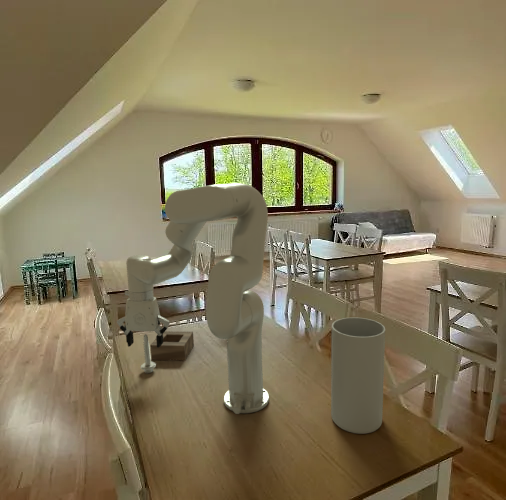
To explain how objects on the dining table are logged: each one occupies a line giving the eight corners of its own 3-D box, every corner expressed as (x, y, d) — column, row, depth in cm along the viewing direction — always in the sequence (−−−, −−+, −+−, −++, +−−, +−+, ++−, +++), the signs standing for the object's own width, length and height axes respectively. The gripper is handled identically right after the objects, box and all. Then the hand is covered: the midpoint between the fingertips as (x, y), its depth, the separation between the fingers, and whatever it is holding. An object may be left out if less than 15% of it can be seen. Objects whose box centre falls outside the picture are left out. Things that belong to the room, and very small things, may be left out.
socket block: (185, 360, 133) (184, 345, 132) (151, 359, 134) (150, 345, 133) (193, 345, 145) (193, 331, 144) (162, 345, 146) (161, 331, 145)
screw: (145, 376, 123) (138, 371, 126) (159, 371, 126) (152, 366, 130) (141, 338, 120) (135, 334, 124) (155, 334, 123) (149, 330, 127)
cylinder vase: (344, 399, 107) (345, 314, 102) (389, 416, 99) (393, 324, 94) (322, 422, 97) (322, 329, 93) (370, 442, 89) (372, 341, 85)
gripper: (109, 298, 119) (114, 349, 122) (164, 299, 117) (167, 351, 120) (120, 290, 126) (124, 339, 129) (171, 291, 124) (174, 341, 128)
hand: (145, 345), depth 125 cm, fingers open, 9 cm apart
